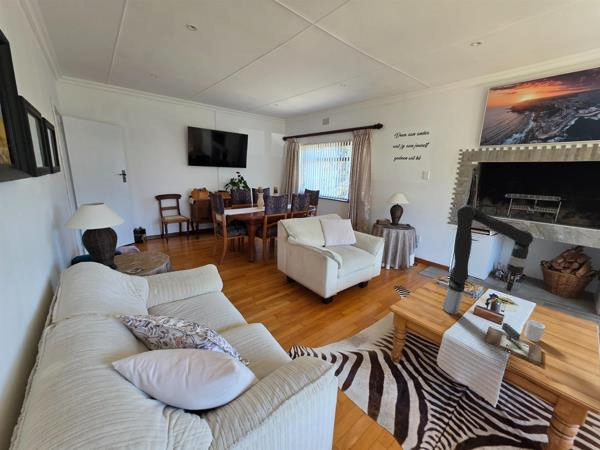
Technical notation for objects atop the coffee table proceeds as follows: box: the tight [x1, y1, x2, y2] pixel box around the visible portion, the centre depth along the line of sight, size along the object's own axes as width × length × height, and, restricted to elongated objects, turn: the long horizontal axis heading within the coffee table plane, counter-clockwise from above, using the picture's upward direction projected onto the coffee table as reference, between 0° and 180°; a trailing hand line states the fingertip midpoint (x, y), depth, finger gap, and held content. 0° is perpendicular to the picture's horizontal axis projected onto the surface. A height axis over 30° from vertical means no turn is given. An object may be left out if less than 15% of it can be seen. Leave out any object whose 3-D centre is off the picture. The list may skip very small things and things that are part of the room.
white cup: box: [523, 319, 546, 343], centre depth 146 cm, size 8×8×10 cm
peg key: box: [501, 322, 522, 349], centre depth 140 cm, size 14×2×7 cm, turn 177°
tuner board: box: [483, 326, 542, 366], centre depth 140 cm, size 24×16×2 cm, turn 46°
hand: (509, 288), depth 148 cm, fingers open, 8 cm apart
